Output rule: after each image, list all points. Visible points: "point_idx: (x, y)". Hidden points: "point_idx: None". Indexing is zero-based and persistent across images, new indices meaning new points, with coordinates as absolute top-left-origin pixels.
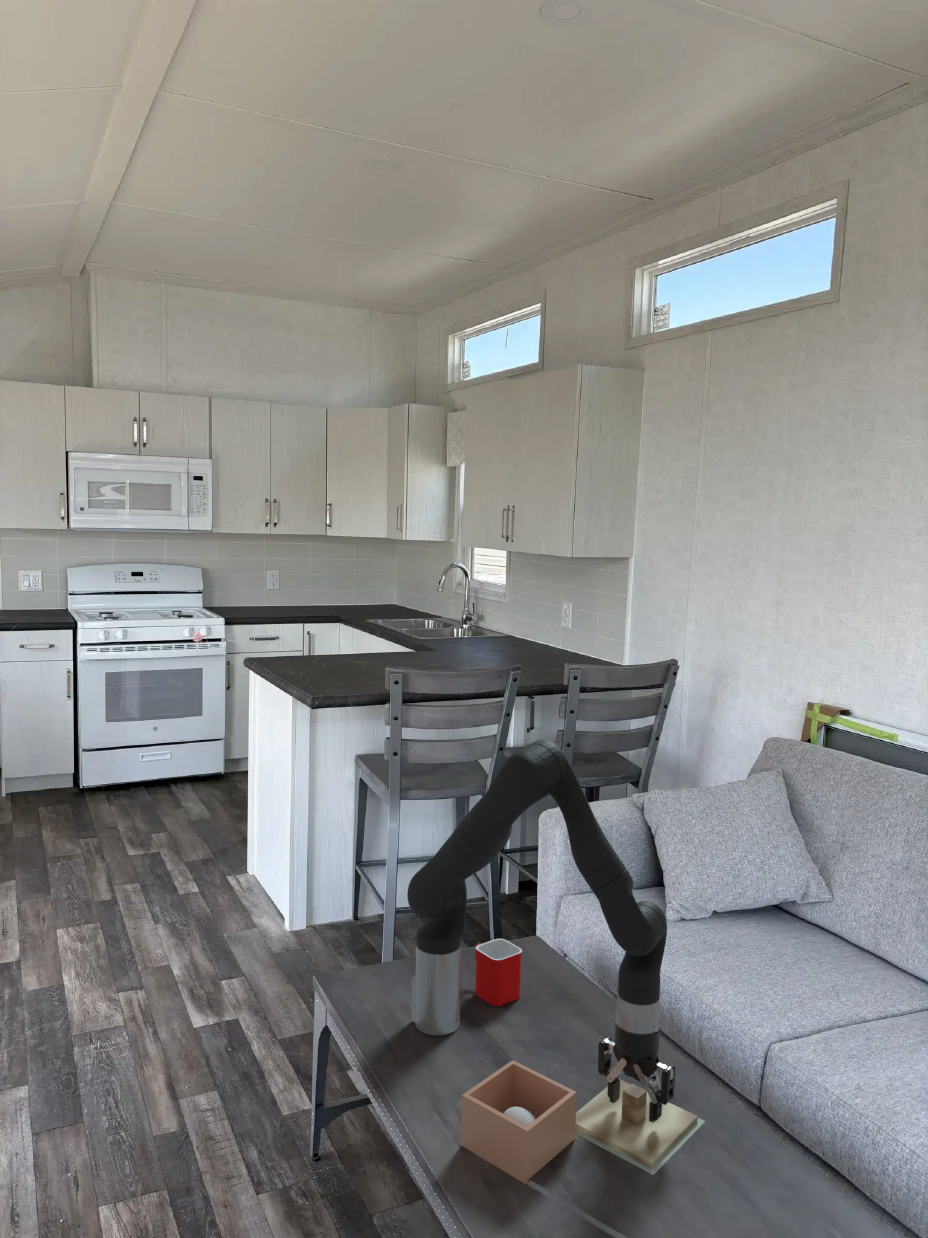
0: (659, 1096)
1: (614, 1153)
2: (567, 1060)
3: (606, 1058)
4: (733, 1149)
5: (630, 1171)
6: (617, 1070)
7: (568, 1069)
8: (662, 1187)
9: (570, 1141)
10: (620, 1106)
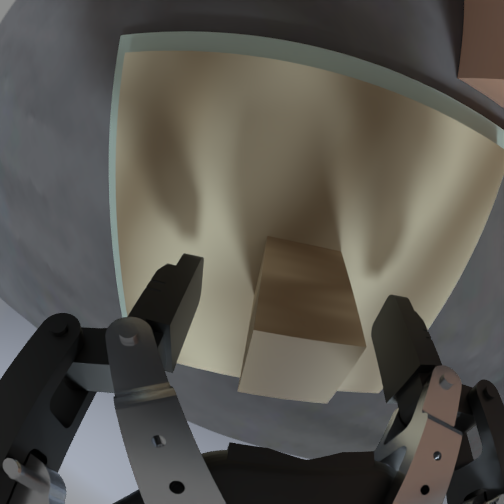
0: (92, 360)
1: (299, 45)
2: (475, 379)
3: (479, 469)
4: (52, 286)
5: (209, 15)
6: (431, 461)
7: (478, 363)
8: (94, 29)
9: (471, 52)
10: (359, 309)
